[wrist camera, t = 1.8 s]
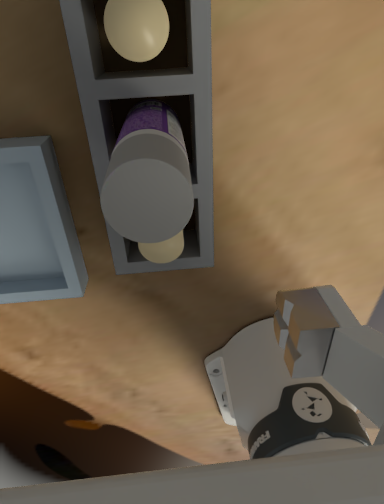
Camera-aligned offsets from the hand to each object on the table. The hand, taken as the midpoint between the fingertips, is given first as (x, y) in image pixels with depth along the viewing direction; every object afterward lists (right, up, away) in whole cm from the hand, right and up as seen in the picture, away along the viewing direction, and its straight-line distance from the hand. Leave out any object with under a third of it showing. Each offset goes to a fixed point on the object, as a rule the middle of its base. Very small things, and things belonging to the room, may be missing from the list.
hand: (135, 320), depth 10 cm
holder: (-2, +12, +19) cm, 23 cm away
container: (-2, +12, +19) cm, 23 cm away
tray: (-17, +5, +23) cm, 29 cm away
